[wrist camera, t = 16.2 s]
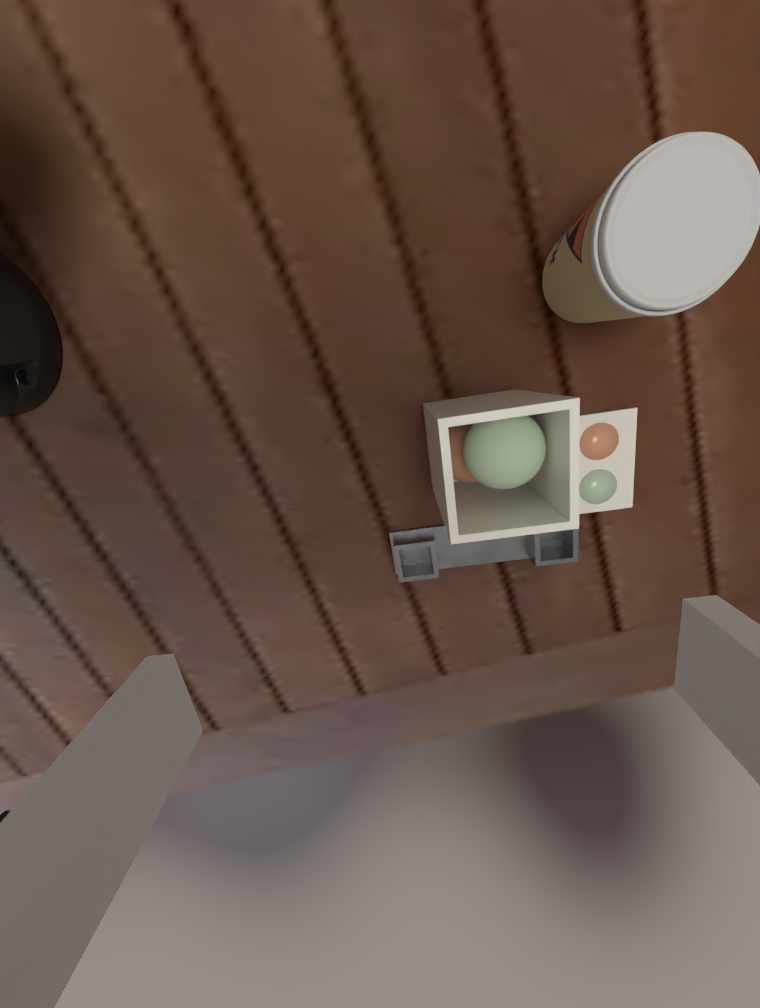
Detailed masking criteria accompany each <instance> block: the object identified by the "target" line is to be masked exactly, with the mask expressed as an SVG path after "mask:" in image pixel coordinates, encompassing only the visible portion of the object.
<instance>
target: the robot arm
mask: <svg viewBox="0 0 760 1008" xmlns="http://www.w3.org/2000/svg"><path fill="white" fill-rule="evenodd" d="M60 367H61V344H60V338H59V333H58V330H57V326H56V323H55V320H54V318H53V316H52V313H51V311H50V309H49V307H48V305H47V303H46V302H45V300H44V298H43V297H42V295H41V294H40V292H39V291H38V290H37V288H36V287H35V286H34V284H33V283H32V282H31V281H30V280H29V279H28V278H27V277H26V276H25V275H24V274H23V273H22V272H21V271H20V270H19V269H18V268H17V267H16V266H14V265H13V264H12V263H11V262H9V261H8V260H6V259H5V258H3V257H2V256H0V416H5V415H14V414H20V413H23V412H27V411H29V410H31V409H33V408H35V407H37V406H38V405H40V404H41V403H42V402H43V401H44V400H45V399H46V398H47V397H48V396H49V395H50V393H51V392H52V390H53V388H54V386H55V384H56V382H57V379H58V376H59V372H60ZM674 689H675V690H676V692H677V693H678V694H679V695H680V696H681V697H682V698H683V699H684V701H685V702H686V703H687V704H688V705H689V706H690V707H691V708H692V709H693V711H694V712H695V713H696V714H697V715H698V716H699V717H700V718H701V720H702V721H703V722H704V723H705V724H706V725H707V726H708V728H709V729H710V730H711V731H712V732H713V733H714V734H715V735H716V737H717V738H718V739H719V740H720V741H721V742H722V743H723V744H724V746H725V747H726V748H727V749H728V750H729V751H730V752H731V753H732V755H733V756H734V757H735V758H736V759H737V760H738V761H739V762H740V763H741V765H742V766H743V767H744V768H745V769H746V770H747V771H748V773H749V774H750V775H751V776H752V777H753V778H754V779H755V781H756V782H757V783H758V784H759V785H760V625H759V624H758V623H756V622H755V621H753V620H752V619H750V618H749V617H748V616H746V615H745V614H743V613H742V612H740V611H739V610H737V609H736V608H734V607H733V606H732V605H730V604H729V603H727V602H726V601H724V600H723V599H721V598H720V597H718V596H717V595H713V596H704V597H695V598H685V599H683V605H682V615H681V624H680V634H679V644H678V654H677V664H676V674H675V684H674ZM202 732H203V730H202V727H201V724H200V722H199V719H198V717H197V714H196V711H195V709H194V706H193V704H192V701H191V698H190V696H189V693H188V691H187V688H186V685H185V683H184V680H183V677H182V675H181V672H180V670H179V667H178V664H177V662H176V659H175V657H174V654H164V655H155V656H147V657H146V658H145V659H144V660H143V661H142V662H141V664H140V665H139V666H138V667H137V668H136V669H135V670H134V671H133V673H132V674H131V675H130V676H129V677H128V678H127V679H126V681H125V682H124V683H123V684H122V685H121V686H120V687H119V689H118V690H117V691H116V692H115V693H114V694H113V695H112V696H111V698H110V699H109V700H108V701H107V702H106V703H105V704H104V706H103V707H102V708H101V709H100V710H99V711H98V712H97V714H96V715H95V716H94V717H93V718H92V719H91V720H90V721H89V723H88V724H87V725H86V726H85V727H84V728H83V729H82V731H81V732H80V733H79V734H78V735H77V736H76V737H75V739H74V740H73V741H72V742H71V743H70V744H69V745H68V746H67V748H66V749H65V750H64V751H63V752H62V753H61V754H60V756H59V757H58V758H57V759H56V760H55V761H54V762H53V764H52V765H51V766H50V767H49V768H48V769H47V770H46V771H45V773H44V774H43V775H42V776H41V777H40V778H39V779H38V781H37V782H36V783H35V784H34V785H33V786H32V787H31V789H30V790H29V791H28V792H27V793H26V794H25V795H24V796H23V798H22V799H21V800H20V801H19V802H18V803H17V804H16V806H15V807H14V808H13V809H12V810H10V811H5V812H3V813H2V814H1V815H0V1008H54V1007H55V1005H56V1003H57V1001H58V999H59V998H60V996H61V994H62V992H63V990H64V988H65V987H66V985H67V983H68V981H69V979H70V977H71V975H72V973H73V972H74V970H75V968H76V966H77V964H78V962H79V960H80V959H81V957H82V955H83V953H84V951H85V949H86V947H87V946H88V944H89V942H90V940H91V938H92V936H93V934H94V932H95V931H96V929H97V927H98V925H99V923H100V921H101V920H102V918H103V916H104V914H105V912H106V910H107V908H108V906H109V905H110V903H111V901H112V899H113V897H114V895H115V894H116V892H117V890H118V888H119V886H120V884H121V882H122V881H123V879H124V877H125V875H126V873H127V871H128V869H129V867H130V866H131V864H132V862H133V860H134V858H135V856H136V855H137V853H138V851H139V849H140V847H141V845H142V843H143V842H144V840H145V838H146V836H147V834H148V832H149V830H150V829H151V827H152V825H153V823H154V821H155V819H156V817H157V815H158V814H159V812H160V810H161V808H162V806H163V804H164V802H165V801H166V799H167V797H168V795H169V793H170V791H171V790H172V788H173V786H174V784H175V782H176V780H177V778H178V777H179V775H180V773H181V771H182V769H183V767H184V765H185V764H186V762H187V760H188V758H189V756H190V754H191V752H192V750H193V749H194V747H195V745H196V743H197V741H198V739H199V737H200V736H201V734H202Z"/></svg>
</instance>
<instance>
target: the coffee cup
mask: <svg viewBox="0 0 760 1008" xmlns="http://www.w3.org/2000/svg"><path fill="white" fill-rule="evenodd" d="M759 225H760V174H759V171H758V169H757V167H756V164H755V163H754V161H753V159H752V157H751V156H750V155H749V153H748V152H747V151H746V150H745V149H744V148H743V147H742V146H741V145H740V144H739V143H737V142H736V141H734V140H733V139H731V138H729V137H727V136H724V135H721V134H718V133H712V132H688V133H681V134H677V135H673V136H670V137H667V138H665V139H663V140H661V141H659V142H657V143H655V144H653V145H651V146H650V147H648V148H647V149H645V150H644V151H642V152H641V153H640V154H638V155H637V156H636V157H635V158H634V159H633V160H631V161H630V162H629V163H628V164H627V165H626V166H625V167H624V169H623V170H622V171H621V172H620V173H619V174H618V175H617V177H616V178H615V179H614V181H613V182H612V183H611V185H610V186H609V187H608V188H607V189H606V190H605V191H604V192H603V193H602V194H601V195H600V196H599V197H598V198H597V199H596V200H595V202H594V203H593V204H592V205H591V206H590V207H589V208H588V209H587V210H586V211H585V212H584V213H583V214H582V215H581V216H580V217H579V219H578V220H577V221H576V222H575V223H574V224H573V225H572V226H571V227H570V228H569V229H568V230H567V231H566V232H565V234H564V235H563V236H562V237H561V238H560V239H559V241H558V242H557V243H556V244H555V246H554V247H553V249H552V250H551V252H550V254H549V255H548V257H547V260H546V263H545V266H544V269H543V275H542V287H543V293H544V296H545V299H546V302H547V303H548V305H549V307H550V308H551V310H552V311H553V312H554V313H555V314H556V315H558V316H559V317H561V318H562V319H564V320H566V321H569V322H573V323H592V322H601V321H610V320H619V319H627V318H636V317H644V316H665V315H671V314H675V313H678V312H681V311H684V310H686V309H689V308H691V307H693V306H695V305H697V304H699V303H700V302H702V301H703V300H705V299H706V298H708V297H709V296H710V295H712V294H713V293H714V292H715V291H717V290H718V289H719V288H720V287H721V286H722V285H723V284H724V283H725V282H726V281H727V280H728V279H729V278H730V277H731V275H732V274H733V273H734V272H735V271H736V270H737V269H738V267H739V266H740V265H741V263H742V262H743V260H744V259H745V257H746V256H747V254H748V252H749V250H750V248H751V247H752V244H753V242H754V240H755V237H756V234H757V232H758V229H759Z"/></svg>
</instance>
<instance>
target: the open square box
mask: <svg viewBox="0 0 760 1008" xmlns="http://www.w3.org/2000/svg"><path fill="white" fill-rule="evenodd" d="M423 411H424V419H425V428H426V437H427V445H428V454H429V463H430V471H431V480H432V488H433V492H434V495H435V498H436V501H437V504H438V507H439V510H440V513H441V516H442V519H443V522H444V525H445V528H446V531H447V534H448V537H449V540H450V543H451V544H459V543H467V542H475V541H483V540H491V539H499V538H507V537H515V536H523V535H531V534H539V533H547V532H555V531H563V530H571V529H579V449H580V398H578V397H570V396H562V395H554V394H546V393H538V392H530V391H522V390H514V389H513V390H507V391H500V392H494V393H487V394H481V395H474V396H468V397H461V398H455V399H448V400H442V401H435V402H429V403H423ZM527 415H528V416H529V417H531V418H532V419H533V420H534V421H535V422H536V423H537V424H538V425H539V427H540V428H541V430H542V432H543V434H544V437H545V441H546V454H545V459H544V462H543V464H542V466H541V468H540V470H539V471H538V472H537V474H536V475H535V476H534V477H533V478H532V479H530V480H529V481H528V482H526V483H525V484H523V485H521V486H518V487H516V488H512V489H494V488H490V487H488V486H485V485H483V484H482V483H480V482H475V483H465V482H460V481H458V480H455V479H453V472H452V462H451V451H450V441H449V431H448V427H453V426H460V425H467V424H474V423H480V422H487V421H494V420H501V419H507V418H514V417H521V416H527Z"/></svg>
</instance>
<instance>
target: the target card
mask: <svg viewBox="0 0 760 1008" xmlns="http://www.w3.org/2000/svg"><path fill="white" fill-rule="evenodd" d="M636 426H637V408H636V407H632V408H625V409H618V410H611V411H604V412H598V413H591V414H584V415H580V449H579V514H583V513H591V512H599V511H607V510H614V509H622V508H630V507H632V506H633V486H634V466H635V446H636Z"/></svg>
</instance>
